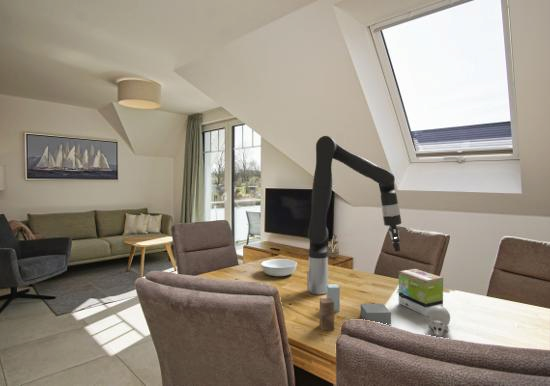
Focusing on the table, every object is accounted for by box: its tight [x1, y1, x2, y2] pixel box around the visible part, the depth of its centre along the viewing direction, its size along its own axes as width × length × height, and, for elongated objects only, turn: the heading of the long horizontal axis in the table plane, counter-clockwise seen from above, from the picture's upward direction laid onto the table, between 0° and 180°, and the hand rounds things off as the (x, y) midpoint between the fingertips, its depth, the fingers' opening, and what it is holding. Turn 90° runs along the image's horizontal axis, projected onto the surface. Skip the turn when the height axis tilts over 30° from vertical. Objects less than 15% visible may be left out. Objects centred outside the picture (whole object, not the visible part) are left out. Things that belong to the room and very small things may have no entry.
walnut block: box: [319, 297, 335, 331], centre depth 121 cm, size 4×4×10 cm
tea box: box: [398, 268, 444, 317], centre depth 138 cm, size 15×10×15 cm, turn 23°
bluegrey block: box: [326, 283, 341, 312], centre depth 138 cm, size 4×4×10 cm
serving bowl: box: [260, 258, 298, 278], centre depth 191 cm, size 21×21×7 cm
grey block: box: [360, 303, 392, 326], centre depth 127 cm, size 9×9×5 cm
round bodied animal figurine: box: [427, 305, 451, 338], centre depth 116 cm, size 7×12×8 cm, turn 148°
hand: (396, 249), depth 150 cm, fingers open, 8 cm apart
